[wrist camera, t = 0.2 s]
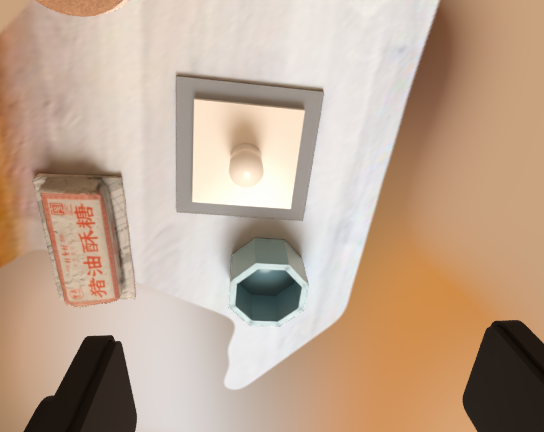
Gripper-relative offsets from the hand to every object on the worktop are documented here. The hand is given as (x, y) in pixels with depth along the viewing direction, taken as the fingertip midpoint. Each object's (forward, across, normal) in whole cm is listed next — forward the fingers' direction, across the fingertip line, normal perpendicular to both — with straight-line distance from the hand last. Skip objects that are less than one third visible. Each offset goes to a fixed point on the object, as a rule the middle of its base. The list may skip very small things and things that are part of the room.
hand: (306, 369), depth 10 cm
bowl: (+36, -1, +21) cm, 42 cm away
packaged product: (+37, +21, +16) cm, 45 cm away
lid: (+36, +1, +5) cm, 36 cm away
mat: (+36, +1, +5) cm, 36 cm away
